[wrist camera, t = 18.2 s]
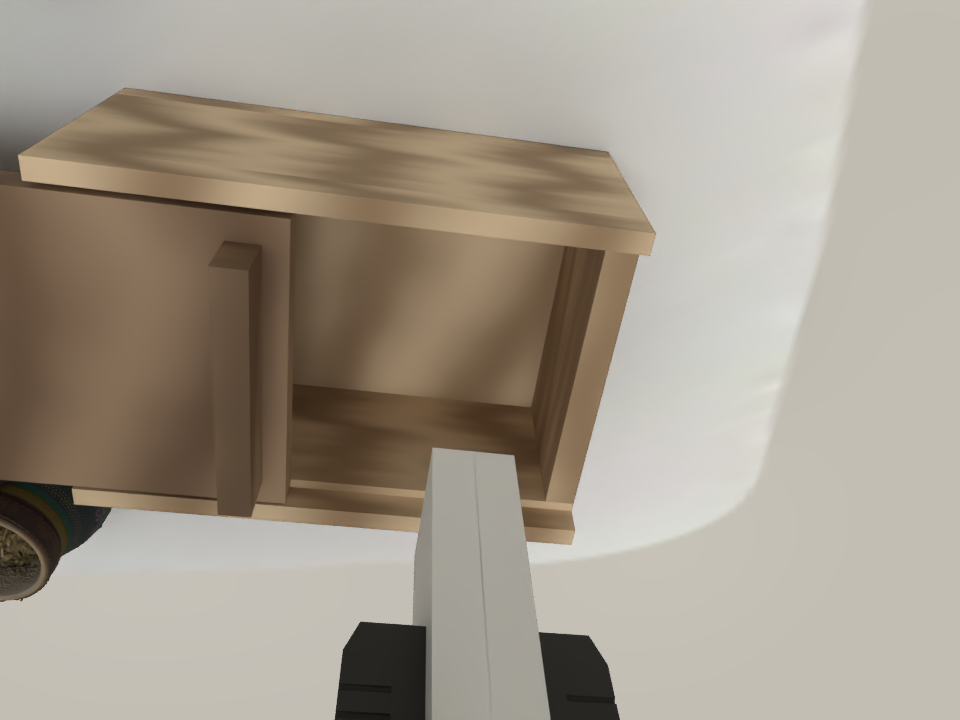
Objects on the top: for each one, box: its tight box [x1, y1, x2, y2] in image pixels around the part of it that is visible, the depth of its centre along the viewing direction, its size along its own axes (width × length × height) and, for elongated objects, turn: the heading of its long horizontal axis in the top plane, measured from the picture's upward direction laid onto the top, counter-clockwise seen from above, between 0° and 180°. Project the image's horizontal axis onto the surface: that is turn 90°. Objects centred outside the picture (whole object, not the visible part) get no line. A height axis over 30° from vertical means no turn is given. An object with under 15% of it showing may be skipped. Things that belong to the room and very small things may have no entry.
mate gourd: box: [0, 480, 112, 602], centre depth 37 cm, size 7×8×10 cm
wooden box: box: [18, 88, 656, 545], centre depth 32 cm, size 20×14×9 cm
